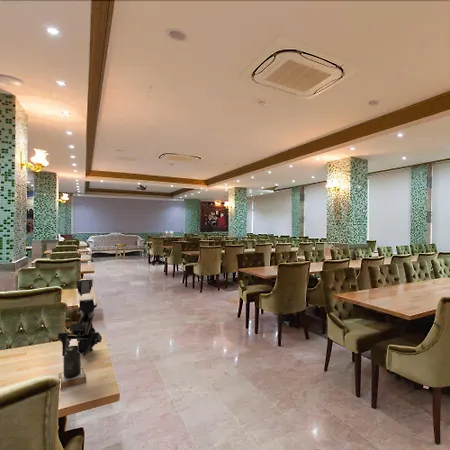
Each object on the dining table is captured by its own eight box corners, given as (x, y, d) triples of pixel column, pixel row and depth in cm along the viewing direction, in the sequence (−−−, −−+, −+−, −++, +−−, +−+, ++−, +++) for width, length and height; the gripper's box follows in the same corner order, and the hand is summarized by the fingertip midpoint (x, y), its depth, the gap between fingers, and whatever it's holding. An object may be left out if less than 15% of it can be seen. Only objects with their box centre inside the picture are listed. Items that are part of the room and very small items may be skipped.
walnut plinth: (83, 372, 136) (83, 366, 136) (86, 382, 128) (86, 376, 128) (58, 378, 131) (58, 372, 131) (59, 389, 123) (59, 383, 123)
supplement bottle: (84, 372, 132) (84, 345, 132) (71, 379, 125) (71, 352, 125) (72, 369, 134) (72, 343, 134) (59, 377, 128) (59, 349, 127)
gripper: (59, 314, 136) (44, 348, 125) (99, 315, 136) (88, 349, 125) (68, 325, 144) (55, 358, 133) (106, 325, 144) (96, 358, 133)
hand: (73, 355), depth 131 cm, fingers open, 9 cm apart
